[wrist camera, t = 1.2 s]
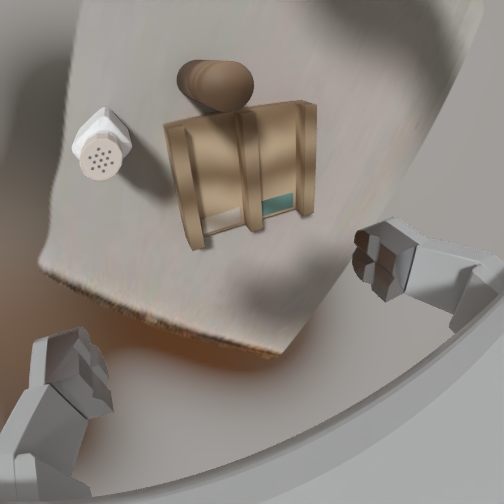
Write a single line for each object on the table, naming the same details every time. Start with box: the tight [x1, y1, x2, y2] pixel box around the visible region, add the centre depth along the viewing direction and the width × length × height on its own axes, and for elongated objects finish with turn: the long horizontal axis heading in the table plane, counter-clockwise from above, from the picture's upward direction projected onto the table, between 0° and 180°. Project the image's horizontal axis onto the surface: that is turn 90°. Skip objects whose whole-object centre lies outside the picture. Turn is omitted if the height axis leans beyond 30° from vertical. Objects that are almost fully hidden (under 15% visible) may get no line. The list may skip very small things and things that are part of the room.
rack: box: [163, 100, 317, 251], centre depth 34 cm, size 14×16×3 cm
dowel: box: [177, 60, 254, 112], centre depth 24 cm, size 4×4×9 cm
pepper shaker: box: [71, 107, 132, 181], centre depth 22 cm, size 4×4×10 cm
